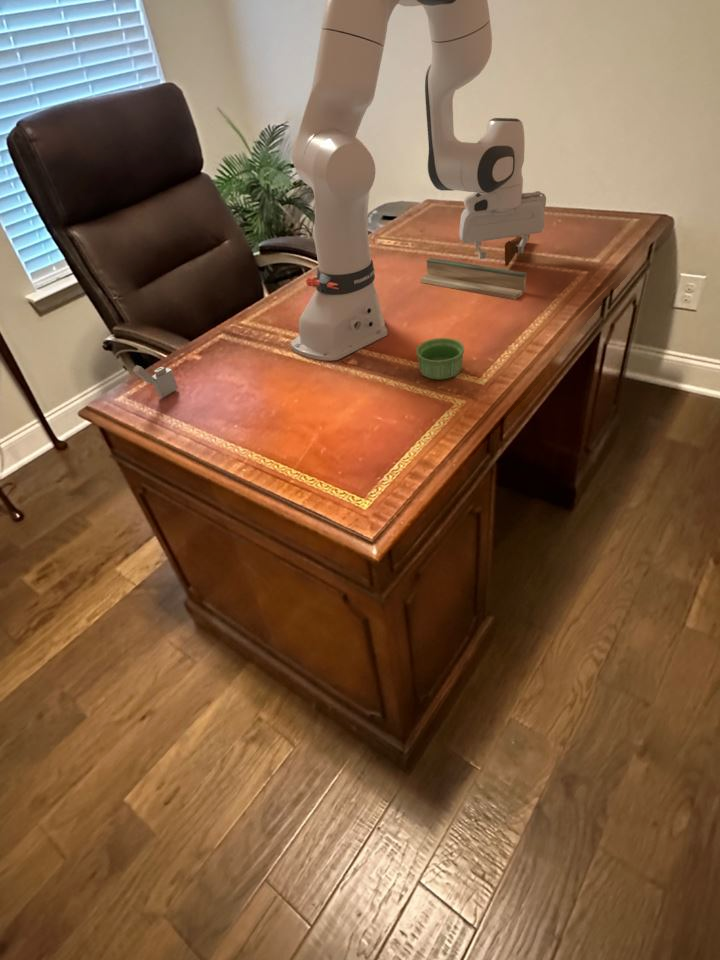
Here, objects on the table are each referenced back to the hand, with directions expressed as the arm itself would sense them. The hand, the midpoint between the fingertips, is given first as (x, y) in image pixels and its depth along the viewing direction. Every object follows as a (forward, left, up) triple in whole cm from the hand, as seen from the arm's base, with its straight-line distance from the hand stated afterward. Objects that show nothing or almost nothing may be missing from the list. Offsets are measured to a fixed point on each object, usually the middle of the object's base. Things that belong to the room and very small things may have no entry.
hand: (500, 255), depth 146 cm
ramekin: (-50, -15, -3) cm, 52 cm away
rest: (-12, 0, -3) cm, 12 cm away
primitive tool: (+5, 0, -5) cm, 7 cm away
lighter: (-84, +29, -3) cm, 89 cm away
